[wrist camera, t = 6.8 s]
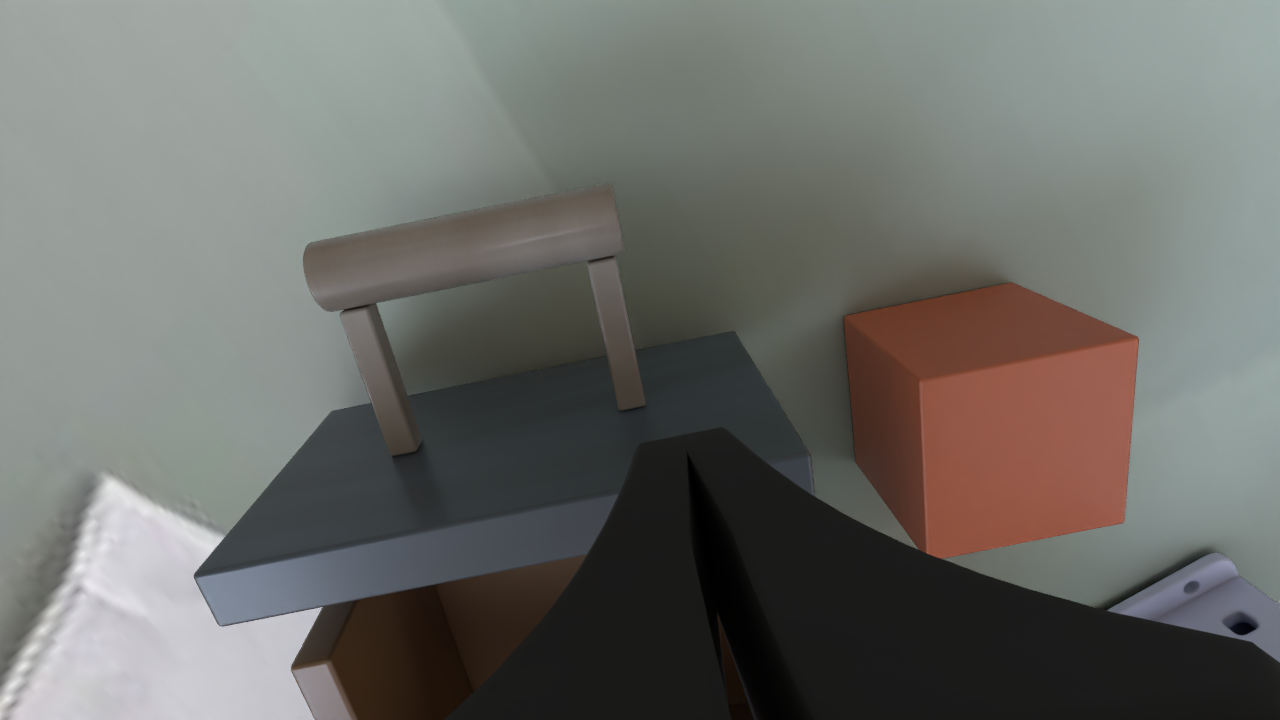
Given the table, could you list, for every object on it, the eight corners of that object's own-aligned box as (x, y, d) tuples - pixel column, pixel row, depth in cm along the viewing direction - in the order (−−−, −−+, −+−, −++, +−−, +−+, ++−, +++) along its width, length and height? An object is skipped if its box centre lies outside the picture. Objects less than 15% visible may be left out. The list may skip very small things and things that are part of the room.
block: (842, 315, 19) (918, 380, 15) (1012, 281, 19) (1140, 336, 15) (855, 463, 21) (927, 562, 16) (1011, 433, 21) (1125, 523, 16)
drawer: (263, 235, 17) (56, 319, 10) (708, 146, 16) (781, 174, 10) (461, 747, 23) (410, 999, 16) (786, 684, 23) (862, 912, 16)
